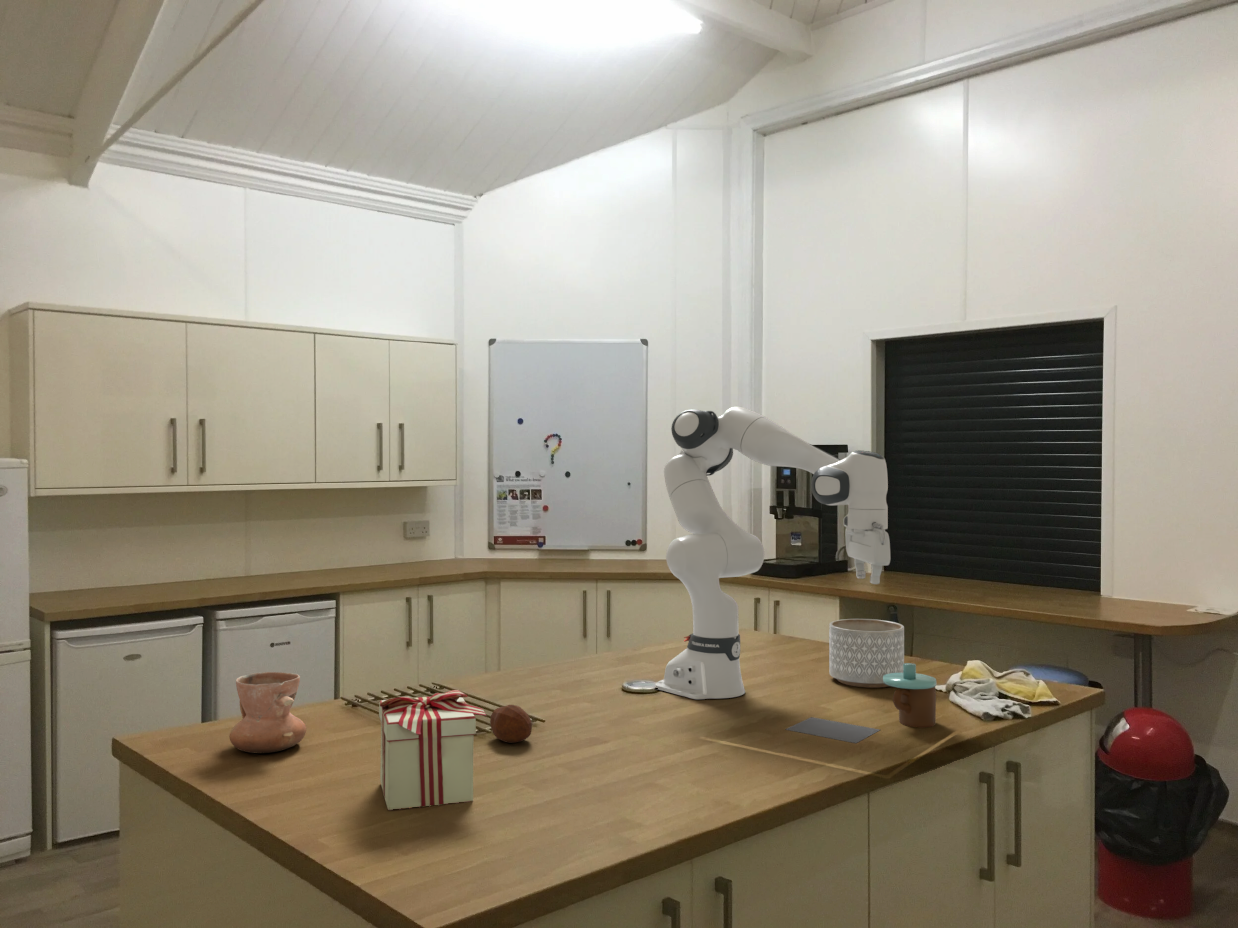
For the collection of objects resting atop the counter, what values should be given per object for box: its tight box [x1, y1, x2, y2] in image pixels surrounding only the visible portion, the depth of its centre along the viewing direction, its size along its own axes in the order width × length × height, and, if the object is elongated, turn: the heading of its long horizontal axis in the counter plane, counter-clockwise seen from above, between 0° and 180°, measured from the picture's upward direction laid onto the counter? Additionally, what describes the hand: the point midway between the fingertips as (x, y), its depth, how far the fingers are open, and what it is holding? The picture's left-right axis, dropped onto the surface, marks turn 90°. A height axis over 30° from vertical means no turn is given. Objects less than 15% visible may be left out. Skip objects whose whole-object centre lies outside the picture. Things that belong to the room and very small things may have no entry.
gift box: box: [378, 689, 487, 811], centre depth 171 cm, size 17×18×17 cm
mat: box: [785, 716, 881, 744], centre depth 209 cm, size 16×12×1 cm
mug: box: [892, 686, 937, 728], centre depth 212 cm, size 12×8×9 cm, turn 130°
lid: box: [883, 662, 937, 689], centre depth 213 cm, size 11×11×4 cm
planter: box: [828, 618, 905, 688], centre depth 255 cm, size 19×19×14 cm
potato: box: [489, 704, 533, 744], centre depth 203 cm, size 8×11×8 cm
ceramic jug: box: [228, 671, 307, 754], centre depth 199 cm, size 18×14×14 cm
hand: (867, 580), depth 229 cm, fingers open, 8 cm apart
